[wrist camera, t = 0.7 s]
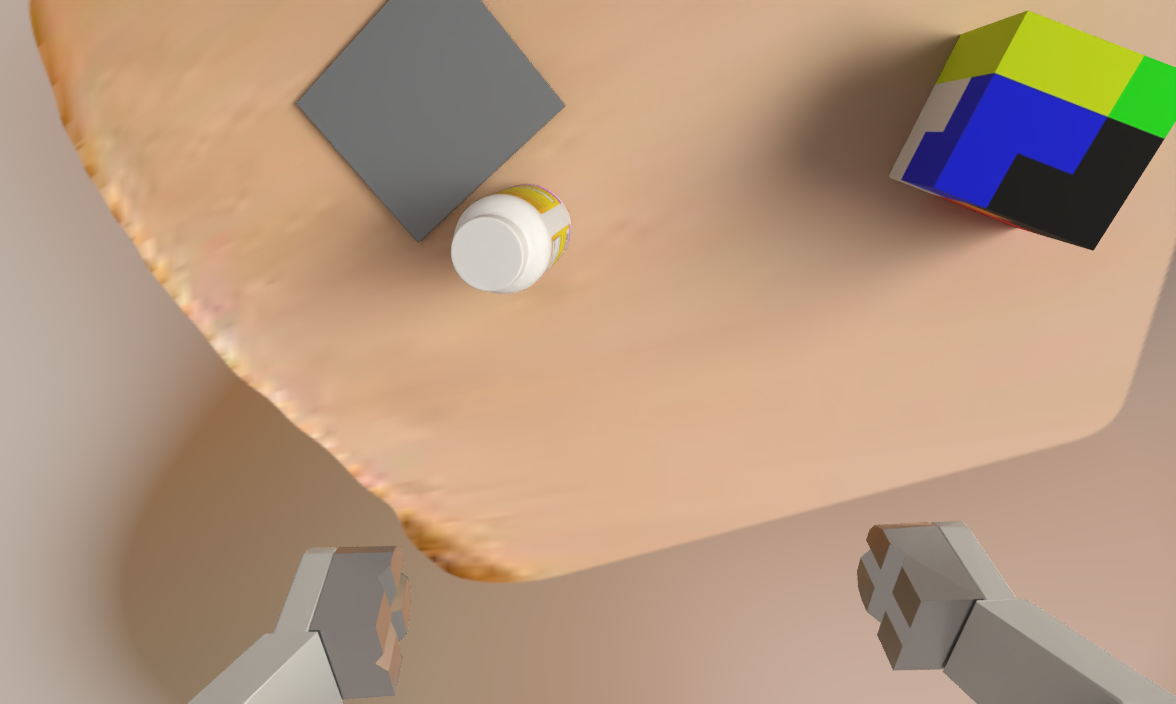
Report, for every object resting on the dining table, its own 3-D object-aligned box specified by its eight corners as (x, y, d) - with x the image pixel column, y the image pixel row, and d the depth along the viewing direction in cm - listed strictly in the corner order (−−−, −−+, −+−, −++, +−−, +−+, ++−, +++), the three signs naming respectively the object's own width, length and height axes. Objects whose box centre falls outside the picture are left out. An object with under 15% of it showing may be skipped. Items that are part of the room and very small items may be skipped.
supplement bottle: (478, 199, 55) (418, 218, 43) (556, 172, 53) (516, 184, 41) (508, 278, 56) (457, 319, 44) (584, 254, 55) (553, 289, 43)
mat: (565, 105, 52) (564, 105, 51) (419, 241, 56) (417, 242, 56) (439, -51, 50) (436, -53, 49) (299, 103, 54) (296, 103, 54)
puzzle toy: (887, 177, 50) (933, 187, 41) (960, 34, 47) (1028, 10, 37) (1017, 227, 50) (1093, 250, 40) (1099, 88, 47) (1202, 78, 37)
